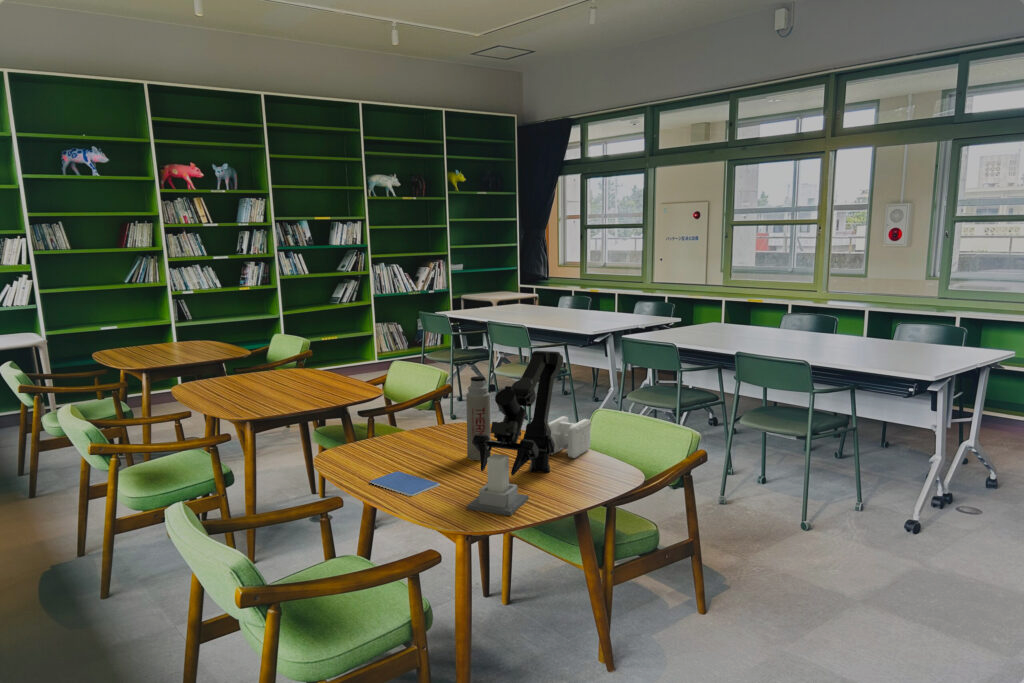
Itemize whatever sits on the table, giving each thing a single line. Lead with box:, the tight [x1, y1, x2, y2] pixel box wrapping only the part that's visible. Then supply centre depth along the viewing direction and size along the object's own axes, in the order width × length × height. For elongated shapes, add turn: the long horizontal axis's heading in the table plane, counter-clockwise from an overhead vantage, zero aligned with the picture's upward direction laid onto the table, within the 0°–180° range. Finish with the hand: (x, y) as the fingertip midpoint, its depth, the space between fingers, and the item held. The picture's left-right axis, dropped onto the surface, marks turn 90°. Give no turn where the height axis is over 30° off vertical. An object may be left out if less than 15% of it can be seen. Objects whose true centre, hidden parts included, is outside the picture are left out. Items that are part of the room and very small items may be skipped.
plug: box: [486, 453, 510, 494], centre depth 188 cm, size 4×4×12 cm
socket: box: [466, 482, 530, 516], centre depth 189 cm, size 13×13×5 cm
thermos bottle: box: [465, 375, 492, 462], centre depth 229 cm, size 8×8×28 cm
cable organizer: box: [548, 415, 592, 459], centre depth 235 cm, size 15×11×12 cm
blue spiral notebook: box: [368, 470, 441, 497], centre depth 206 cm, size 19×13×1 cm, turn 53°
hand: (496, 472), depth 187 cm, fingers open, 9 cm apart
